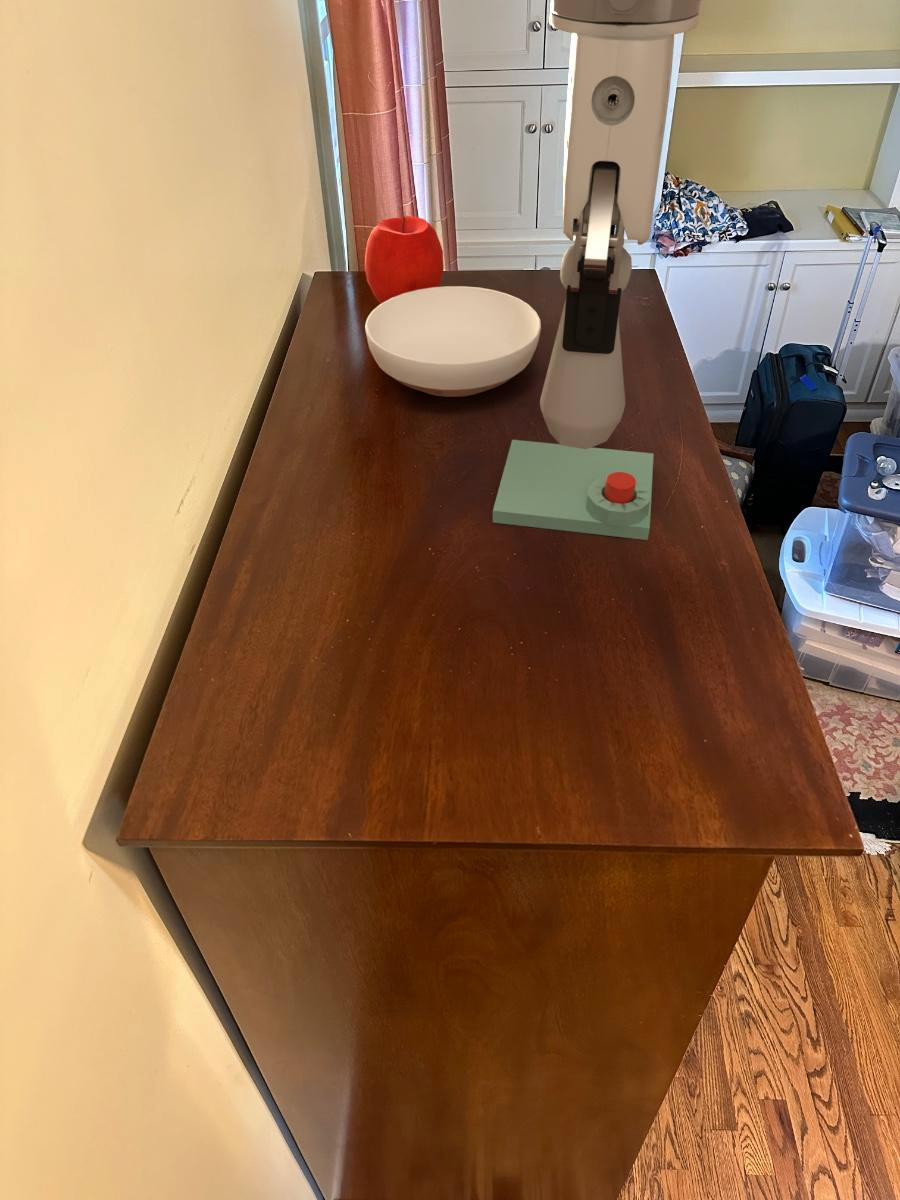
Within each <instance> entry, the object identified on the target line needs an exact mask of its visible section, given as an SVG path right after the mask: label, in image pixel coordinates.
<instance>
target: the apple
mask: <svg viewBox="0 0 900 1200" xmlns="http://www.w3.org/2000/svg"><path fill="white" fill-rule="evenodd" d="M437 233H438V232H437V231H436V228H435V227H434V226H433V225H432V224H431V223H430V222H428V221H427V220H426V219H425V218H422V217H418V216H411V215H404V216H399V217H392V218H391V217H390V218H386V219H383V220H381V221H380V222H378V223H377V224H376V226H374V228H372V230H371V232H370V235H369V237H368V240H367V242H366V248H365V254H364V255H365V256H364V271H365V276H366V282H367V283H368V286H369V288H370V290H371V292H372V294H373V296H374V298H375V299H376V300H377V301H378V302H379V305H380V304H382V303H383V302H385V301H387V300H389V299H391V298H393V297H396V296H398V295H401V294H403V293H407V292H411V291H415V290H420V289H426V288H432V287H441V284H442V282H443V281H442V280H443V275H444V269H445V268H444V267H445V266H444V265H445V264H444V250H443V247H442V244H441V241H440V239H439V236H438V234H437Z"/></svg>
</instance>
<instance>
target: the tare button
mask: <svg viewBox="0 0 900 1200" xmlns="http://www.w3.org/2000/svg"><path fill="white" fill-rule="evenodd" d="M635 485H636V480H635V478H634V477H633V476H632V475H630V474H628V473H625V472H614V473H611V474H609V475H608V476H607V478H606V485H605V492H604V496H605V498H606V499H607V500H608V501H610V502H612V503H619V504H625V503H629V502H631V501H632V500H633V498H634V492H635Z"/></svg>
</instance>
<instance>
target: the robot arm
mask: <svg viewBox="0 0 900 1200" xmlns="http://www.w3.org/2000/svg"><path fill="white" fill-rule="evenodd" d="M701 2H702V0H550V6H549V9H550V10H549V22H548V23H549V25H550V26H551V27H553V28H554V29H556V30H558V31H561V32H565V33H569V34H571V38H570V51H569V65H568V77H567V79H568V80H567V97H566V98H567V99H566V111H565V112H566V113H565V115H566V116H565V130H564V151H563V152H564V153H563V156H564V157H563V183H562V185H563V187H562V189H563V190H562V191H563V194H562V195H563V198H562V202H563V203H562V232H563V234H564V236H565V237H566V238H567V239H568V240H570V241H571V242H573V243H574V244H575V245H574V244H573V245H574V255H573V266H572V277H571V285H568V286H567V289H566V294H565V295H566V296H565V300H566V306H565V319H564V331H563V343H562V347H563V349H564V350H566V351H571V352H584V353H598V354H610V353H612V352H613V351H614V346H615V338H616V330H617V322H618V316H619V313H620V306H621V299H622V298H621V297H622V291H621V290H622V288H618V281H619V272H620V264H621V256H622V247H624V245H625V235H626V238H627V240H629V241H631V240H632V241H637V245H638V246H639V245H640V246H641V245H644V244H646V243H647V242H648V240H649V239H650V238H651V232H652V224H653V216H654V208H655V201H656V193H657V187H658V186H657V185H658V179H659V178H658V177H659V172H660V167H661V158H662V152H663V151H662V150H663V144H664V137H665V130H666V123H667V115H668V108H669V102H670V101H669V99H670V93H671V82H672V72H673V60H674V50H675V49H674V48H675V35H678V34H684V33H687V32H690V31H691V30H693V29H696V28H697V26H698V23H699V16H700V10H701ZM584 247H586V251H585V255H583V250H584ZM608 248H613V256H612V259H611V257H608ZM609 277H610V281H609ZM608 286H609V288H608Z"/></svg>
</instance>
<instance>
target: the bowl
mask: <svg viewBox="0 0 900 1200" xmlns="http://www.w3.org/2000/svg"><path fill="white" fill-rule="evenodd" d="M364 324H365V325H364V329H365V335H366V339H367V344H368V349H369V351H370V353H371V355H372V357H373V360H374V361H375V362H376V364H377V366H378V367H379V369H381V370H382V371H383V372H384V373H385V374H387V375H388V376H390V377H391V378H392V379H394V380H395V381H397V382H398V383H400V384H402V385H404V386H405V387H407V388H410V389H412V390H416V391H418V392H423V393H424V394H425V393H426V394H429V395H433V396H438V397H445V398H446V397H447V398H458V397H459V398H460V397H467V396H473V395H478V394H481V393H483V392H486V391H488V390H489V391H490V390H492V389H495V388H498V387H499V386H502V385H503V384H505V383H507V382H509V381H510V380H511V379H512V378H514V377H515V376H516V375H519V373H521V372H522V371H523V370H525V368H526V367H527V366H528V365H529V364H530V362H531V360H532V359H533V357H534V354H535V351H536V349H537V346H538V344H539V341H540V336H541V330H542V322H541V318H540V316H539V314H538V313H537V311H536V310H535V309H534V308H533V307H532V306H531V305H530V304H529V303H527V302H525V301H524V300H522V299H521V298H518V297H516V296H514V295H511V294H508V293H506V292H502V291H500V290H499V291H498V290H495V289H489V288H484V287H477V286H476V287H475V286H466V285H465V286H464V285H447V286H446V285H445V286H440V287H432V288H426V289H420V290H415V291H411V292H407V293H403V294H401V295H398V296H396V297H393V298H391V299H389V300H387V301H385V302H383V303H382V304H380V303H379V304H378V305H377V306H376V307H375V308H374V309H373V310H372V311H371V312H370V313H369V315H368V316H367V318H366V321H365V323H364Z"/></svg>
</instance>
